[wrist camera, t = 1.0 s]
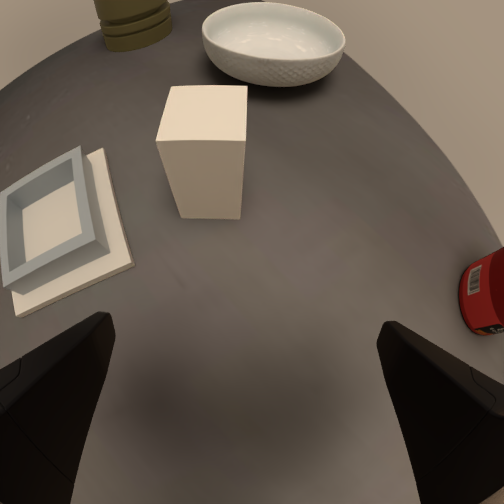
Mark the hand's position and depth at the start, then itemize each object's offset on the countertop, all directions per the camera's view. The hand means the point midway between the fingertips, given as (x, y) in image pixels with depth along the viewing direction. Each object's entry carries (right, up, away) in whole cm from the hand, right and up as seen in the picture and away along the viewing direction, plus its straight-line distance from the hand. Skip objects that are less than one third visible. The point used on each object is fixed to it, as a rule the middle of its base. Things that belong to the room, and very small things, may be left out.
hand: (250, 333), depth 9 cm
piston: (-18, +38, +26) cm, 50 cm away
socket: (-18, +4, +14) cm, 23 cm away
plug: (-3, +8, +16) cm, 18 cm away
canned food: (+24, -3, +15) cm, 28 cm away
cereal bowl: (+2, +26, +23) cm, 35 cm away
